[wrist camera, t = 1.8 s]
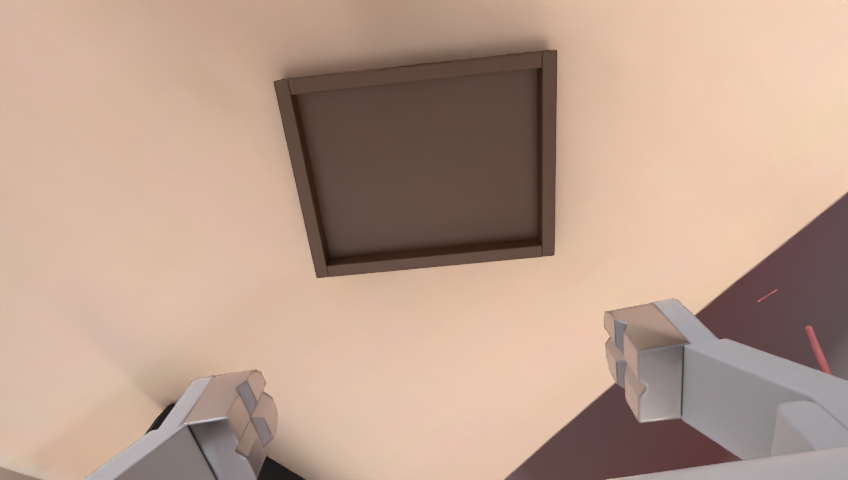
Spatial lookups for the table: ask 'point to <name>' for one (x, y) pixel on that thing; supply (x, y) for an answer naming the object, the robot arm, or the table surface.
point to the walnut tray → (425, 162)
